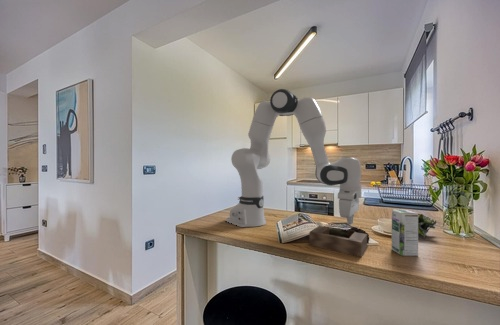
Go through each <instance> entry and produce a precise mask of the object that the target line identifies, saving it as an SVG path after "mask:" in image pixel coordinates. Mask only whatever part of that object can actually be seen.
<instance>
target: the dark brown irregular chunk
mask: <svg viewBox="0 0 500 325" xmlns="http://www.w3.org/2000/svg"><path fill="white" fill-rule="evenodd" d="M323 227H327V225H323ZM328 227H329V235H334V236H339V237H344V238H350V237H351V235H352V234H353V233H354V232H357V233H363V234H367V245H369V244H370V243H369V242H370V235H369V233H368V232H367V231H366V230H365V229H364V230H363V229H362V228H358V227H355V226H353V227H350V228H349V229H343V228H336V227H332V226H328Z"/></svg>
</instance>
